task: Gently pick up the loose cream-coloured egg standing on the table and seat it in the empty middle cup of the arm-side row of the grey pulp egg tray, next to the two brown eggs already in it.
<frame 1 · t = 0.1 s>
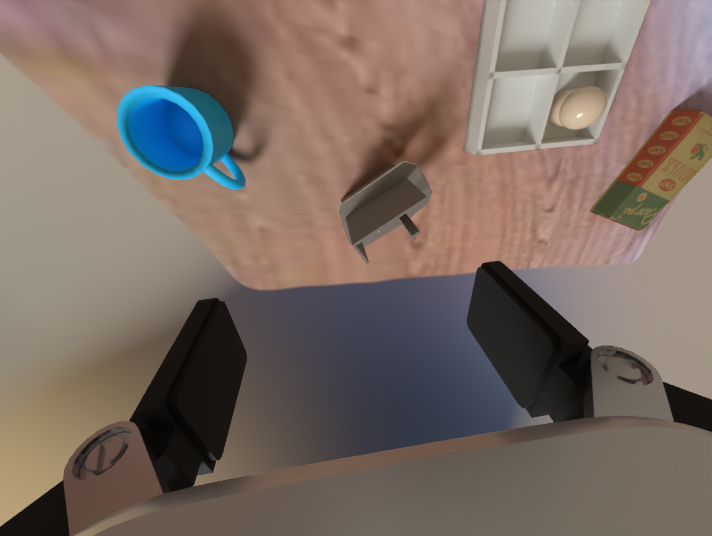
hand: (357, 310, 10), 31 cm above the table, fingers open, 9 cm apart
carton: (640, 172, 44), on the table
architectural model: (371, 191, 40), on the table
egg in carton 2: (560, 107, 36), point 1 cm above the table, touching egg tray
egg tray: (548, 30, 32), on the table
mug: (211, 141, 34), on the table
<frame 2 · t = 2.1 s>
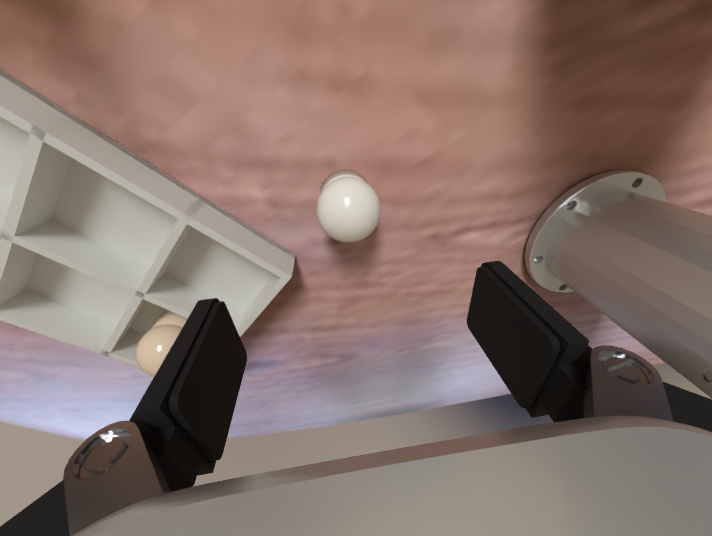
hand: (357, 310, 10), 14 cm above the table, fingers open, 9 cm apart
egg in carton 1: (185, 322, 27), point 1 cm above the table, touching egg tray
egg tray: (110, 245, 23), on the table
loose egg: (345, 196, 23), on the table
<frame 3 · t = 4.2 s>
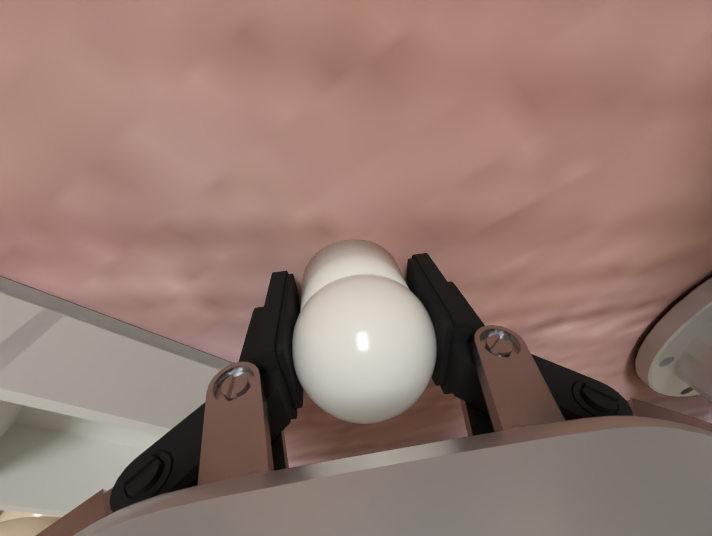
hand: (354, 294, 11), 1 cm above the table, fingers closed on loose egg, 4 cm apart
egg in carton 1: (80, 475, 16), point 1 cm above the table, touching egg tray
loose egg: (351, 283, 12), on the table, touching gripper
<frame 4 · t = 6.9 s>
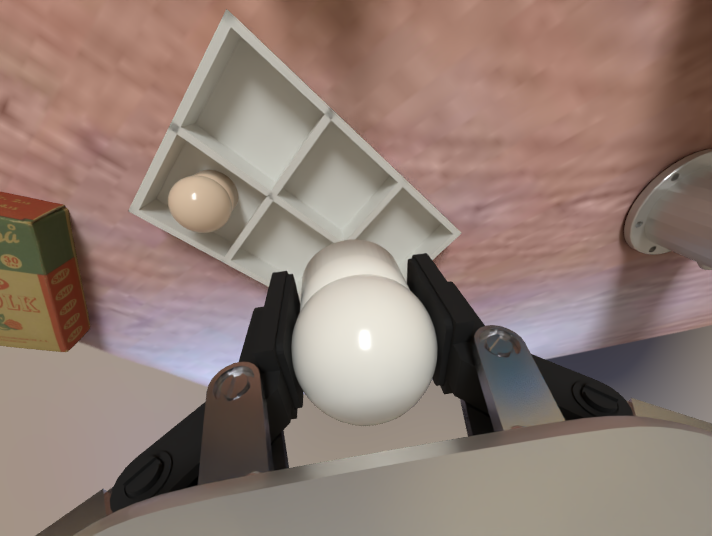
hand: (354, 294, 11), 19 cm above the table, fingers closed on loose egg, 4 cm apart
carton: (37, 264, 28), on the table
egg in carton 2: (214, 192, 26), point 1 cm above the table, touching egg tray
egg tray: (311, 209, 28), on the table
loose egg: (351, 283, 12), point 18 cm above the table, touching gripper
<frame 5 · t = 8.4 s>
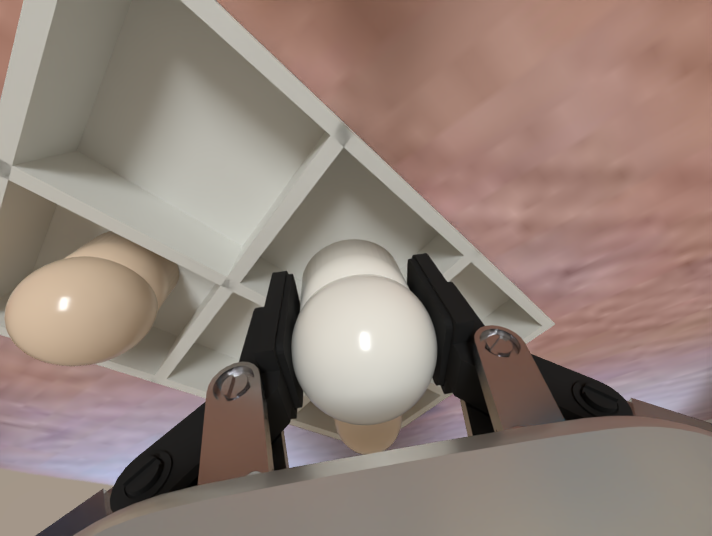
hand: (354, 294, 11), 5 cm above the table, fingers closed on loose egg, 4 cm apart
egg in carton 2: (135, 266, 15), point 1 cm above the table, touching egg tray
egg in carton 1: (361, 371, 21), point 1 cm above the table, touching egg tray
egg tray: (306, 283, 17), on the table
loose egg: (351, 283, 12), point 5 cm above the table, touching gripper
when the fingers open (4 cm above the table, at t = 9.5 s): loose egg drops 2 cm, resting on egg tray.
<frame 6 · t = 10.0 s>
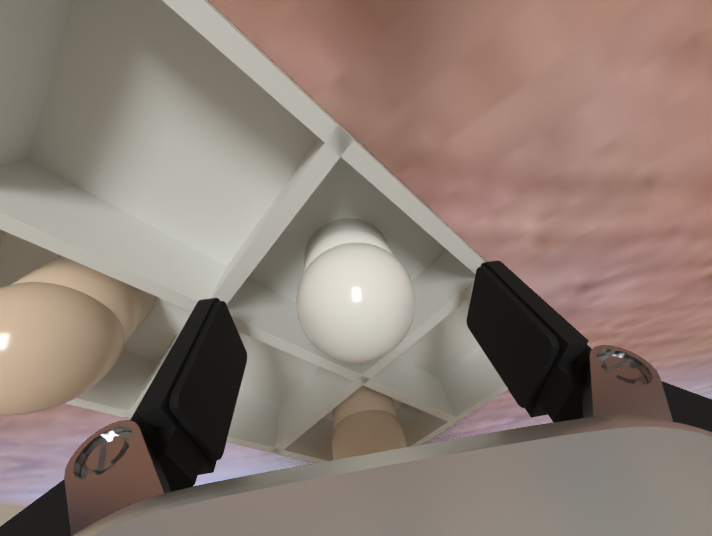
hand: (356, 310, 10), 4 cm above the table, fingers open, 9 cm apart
egg in carton 2: (104, 289, 13), point 1 cm above the table, touching egg tray
egg in carton 1: (361, 393, 20), point 1 cm above the table, touching egg tray
egg tray: (300, 302, 15), on the table
loose egg: (347, 257, 14), point 1 cm above the table, touching egg tray
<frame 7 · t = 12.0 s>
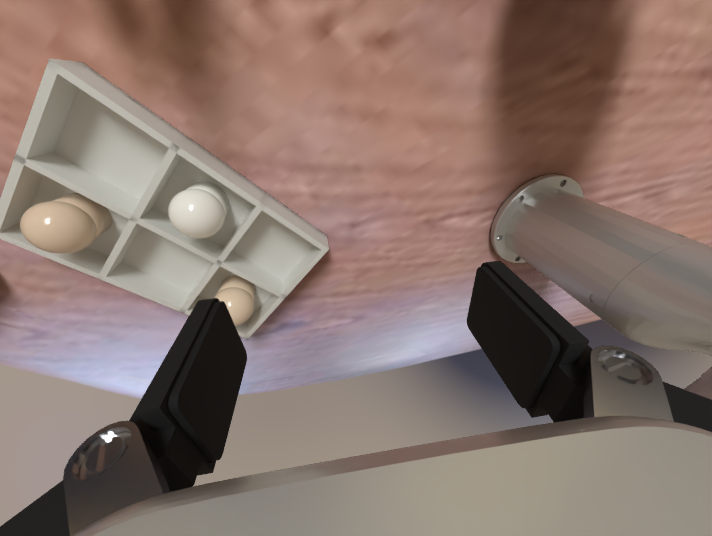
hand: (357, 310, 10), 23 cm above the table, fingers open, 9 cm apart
egg in carton 2: (86, 214, 27), point 1 cm above the table, touching egg tray
egg in carton 1: (238, 288, 35), point 1 cm above the table, touching egg tray
egg tray: (190, 227, 30), on the table
loose egg: (207, 201, 28), point 1 cm above the table, touching egg tray
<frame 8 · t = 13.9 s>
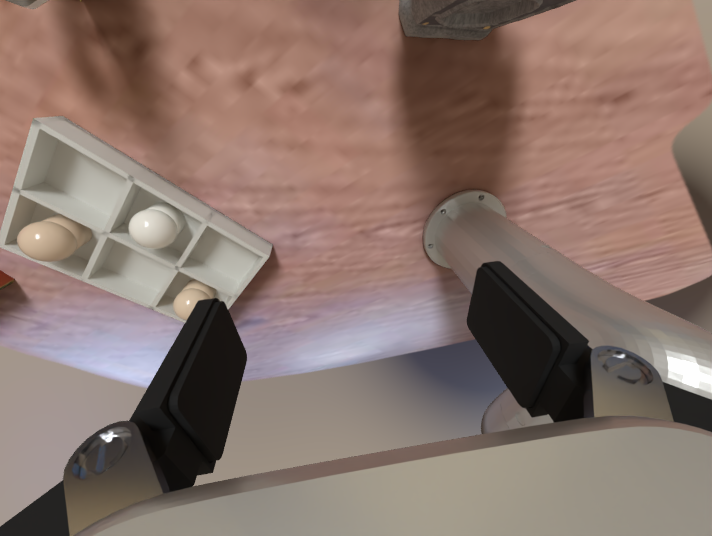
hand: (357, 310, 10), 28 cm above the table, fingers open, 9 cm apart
egg in carton 2: (71, 229, 34), point 1 cm above the table, touching egg tray
egg in carton 1: (201, 289, 41), point 1 cm above the table, touching egg tray
egg tray: (156, 239, 37), on the table
loose egg: (167, 218, 35), point 1 cm above the table, touching egg tray
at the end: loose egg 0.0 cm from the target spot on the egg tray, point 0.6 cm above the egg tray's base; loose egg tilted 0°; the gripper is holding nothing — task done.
